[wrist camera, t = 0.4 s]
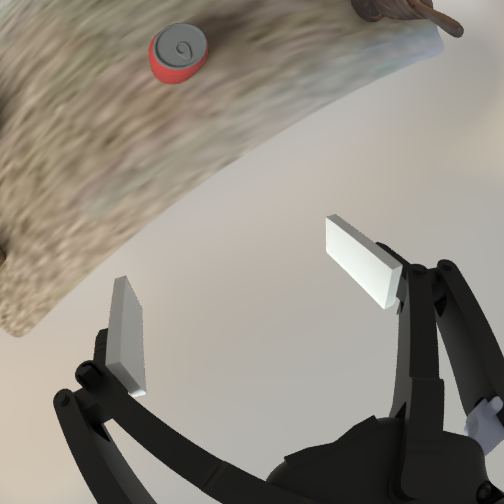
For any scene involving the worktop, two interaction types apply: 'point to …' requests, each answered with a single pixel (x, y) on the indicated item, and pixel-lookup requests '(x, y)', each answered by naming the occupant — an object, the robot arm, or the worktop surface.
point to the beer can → (177, 52)
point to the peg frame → (2, 258)
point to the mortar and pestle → (406, 12)
